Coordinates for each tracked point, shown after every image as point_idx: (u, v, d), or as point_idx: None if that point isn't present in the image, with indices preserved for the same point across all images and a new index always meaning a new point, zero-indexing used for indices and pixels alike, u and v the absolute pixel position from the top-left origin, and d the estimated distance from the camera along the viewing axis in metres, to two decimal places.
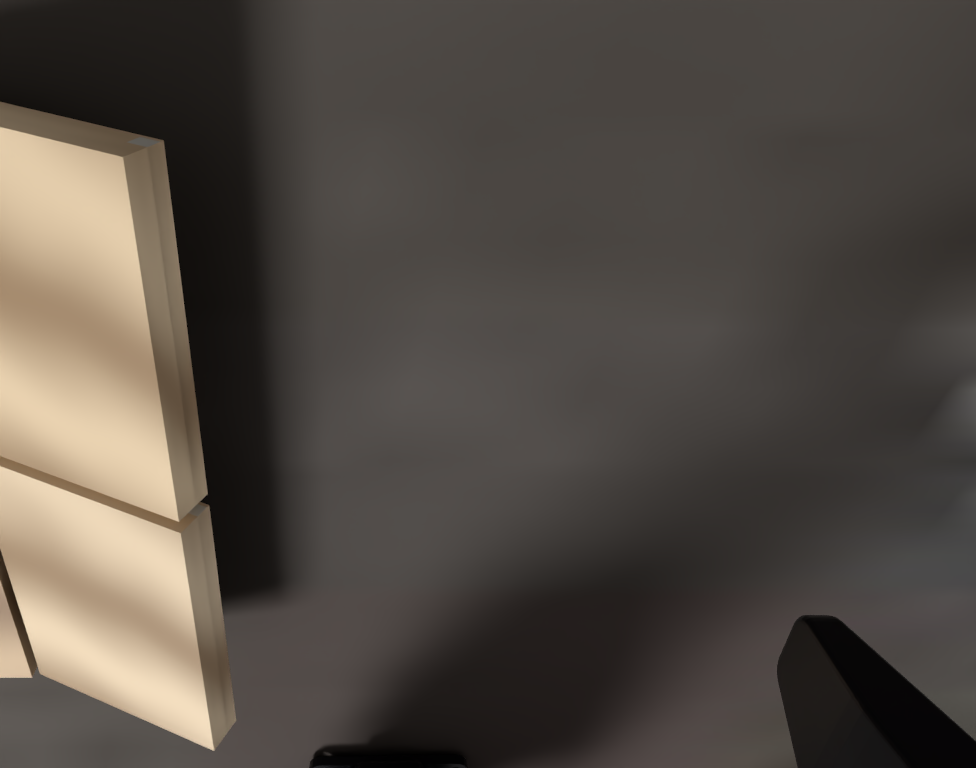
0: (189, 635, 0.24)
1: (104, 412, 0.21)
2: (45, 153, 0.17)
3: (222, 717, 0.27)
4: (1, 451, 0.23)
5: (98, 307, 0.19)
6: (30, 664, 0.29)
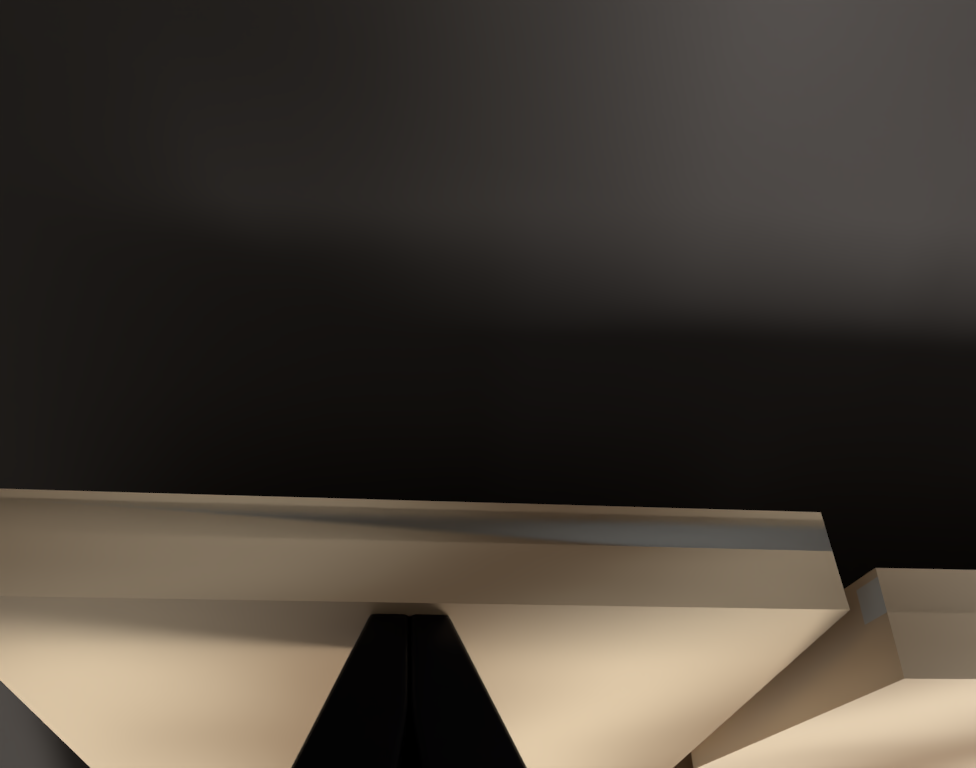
0: None
1: (562, 663, 0.10)
2: (13, 664, 0.10)
3: None
4: (681, 750, 0.14)
5: (306, 648, 0.10)
6: None
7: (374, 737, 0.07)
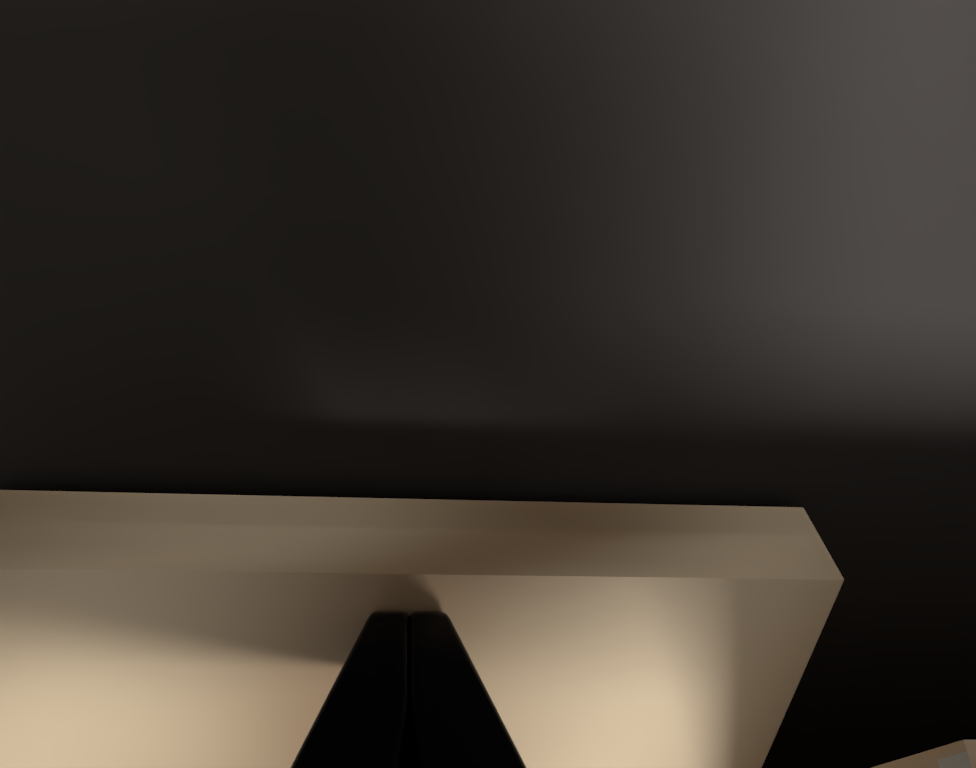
0: None
1: (568, 682, 0.10)
2: None
3: None
4: None
5: (306, 657, 0.10)
6: None
7: (374, 737, 0.07)
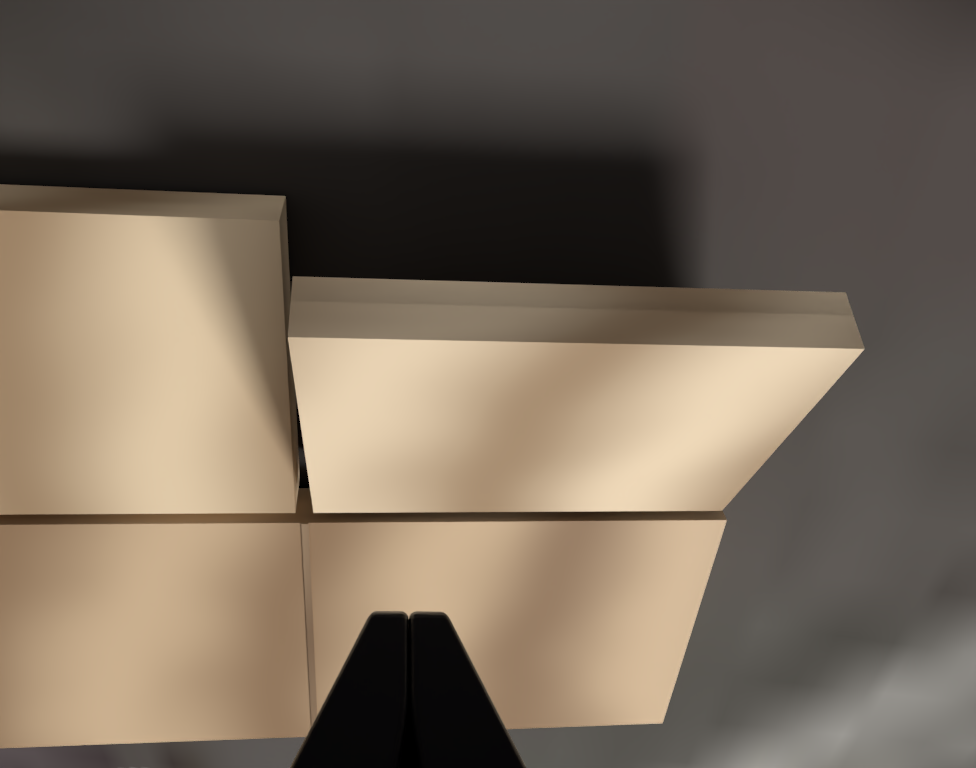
0: (545, 351, 0.14)
1: (127, 303, 0.16)
2: None
3: (800, 319, 0.15)
4: (283, 468, 0.18)
5: None
6: (704, 516, 0.21)
7: (373, 737, 0.07)
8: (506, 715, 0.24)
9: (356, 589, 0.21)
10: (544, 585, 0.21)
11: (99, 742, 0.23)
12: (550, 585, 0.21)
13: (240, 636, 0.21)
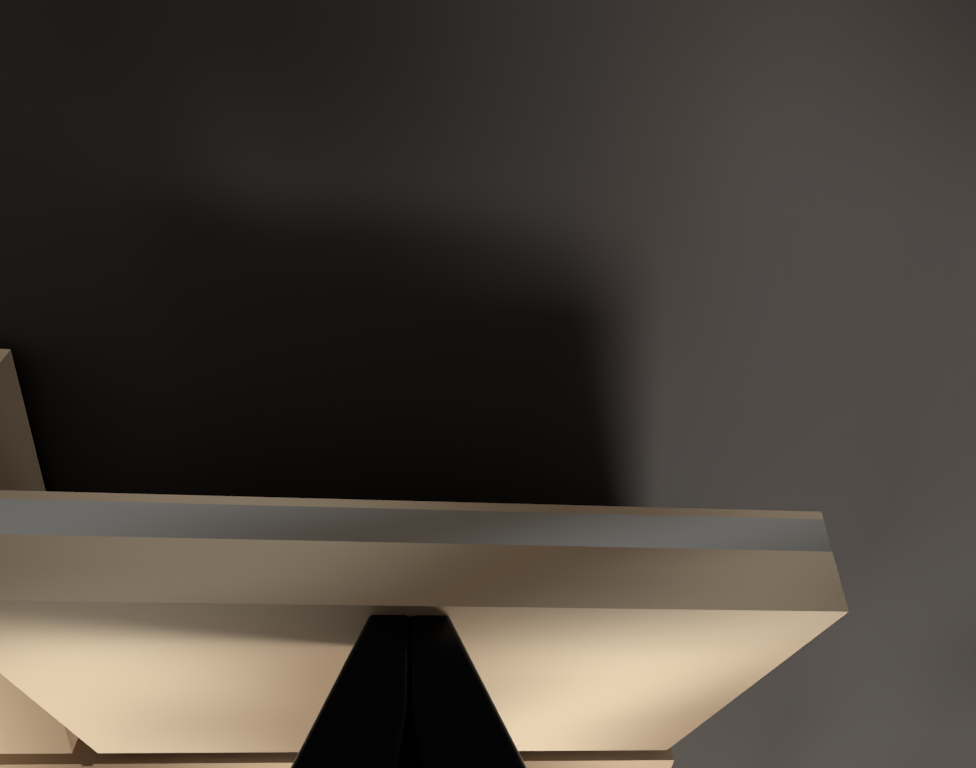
0: (342, 613, 0.09)
1: None
2: None
3: (750, 559, 0.10)
4: None
5: None
6: (643, 753, 0.15)
7: (374, 737, 0.07)
8: None
9: None
10: None
11: None
12: None
13: None
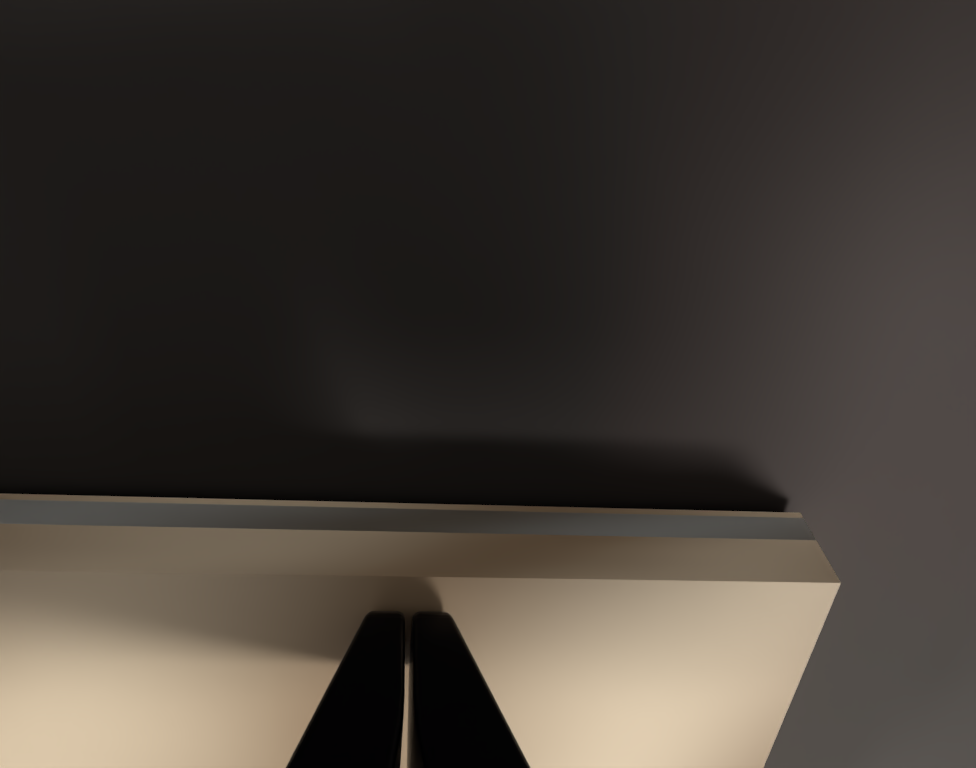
0: (347, 592, 0.09)
1: None
2: None
3: (738, 545, 0.10)
4: None
5: None
6: None
7: (369, 737, 0.07)
8: None
9: None
10: None
11: None
12: None
13: None
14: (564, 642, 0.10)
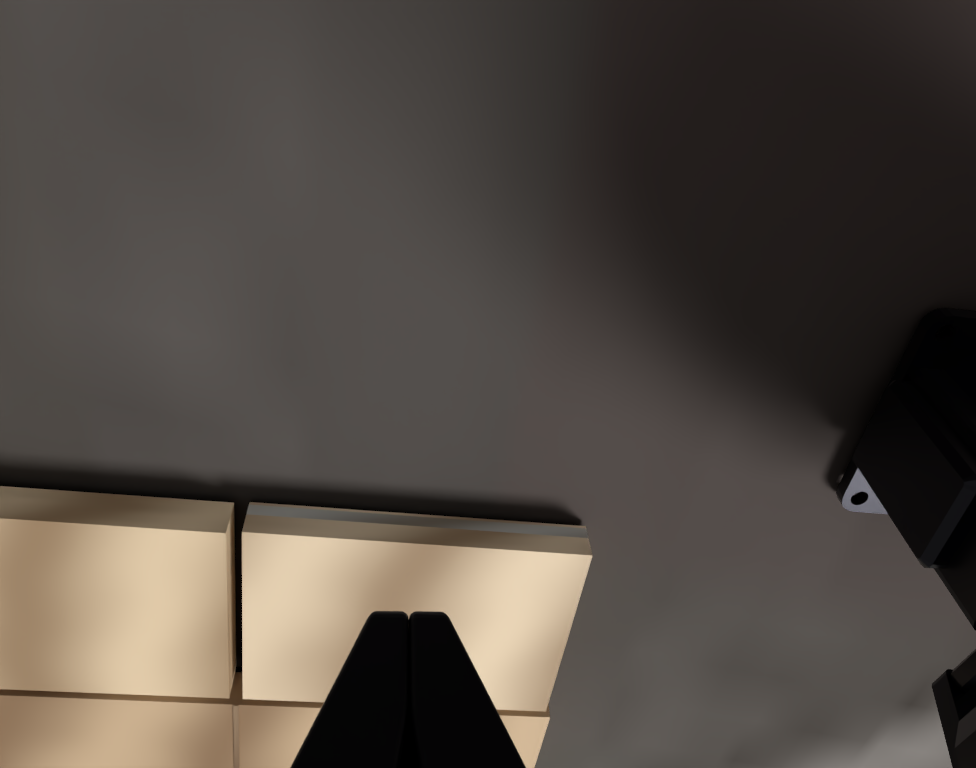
0: (397, 549, 0.23)
1: (118, 573, 0.23)
2: None
3: (555, 538, 0.24)
4: (221, 671, 0.26)
5: None
6: (533, 713, 0.28)
7: (373, 737, 0.07)
8: None
9: (272, 747, 0.28)
10: None
11: None
12: None
13: None
14: (481, 574, 0.24)
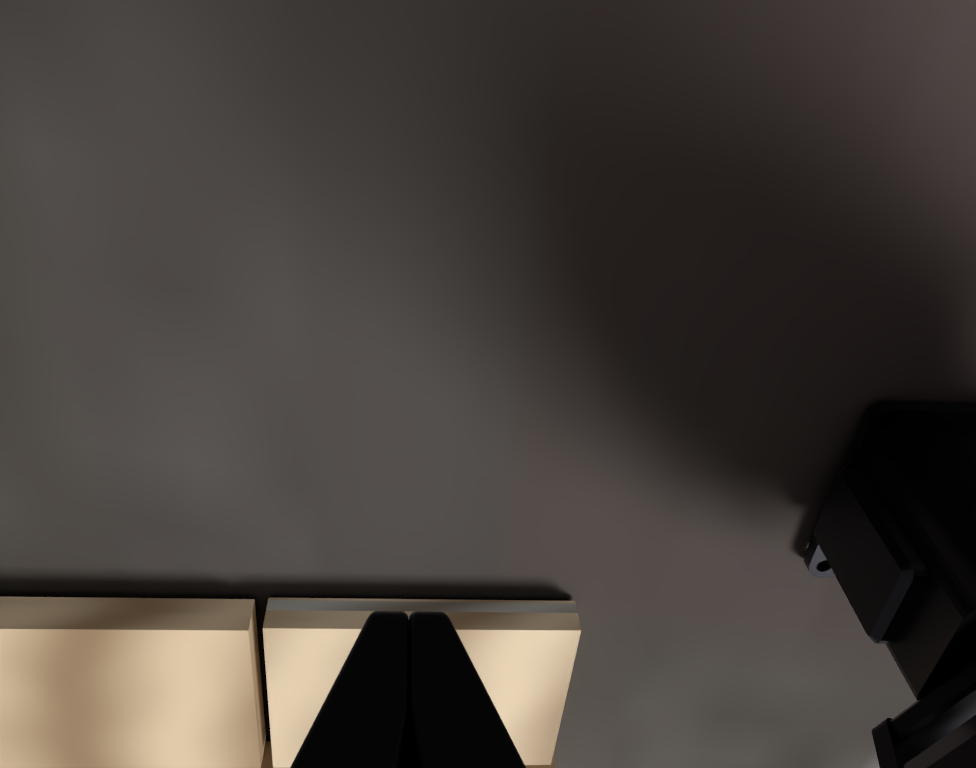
0: None
1: (154, 668, 0.26)
2: None
3: (546, 615, 0.27)
4: (252, 745, 0.28)
5: (46, 659, 0.25)
6: (540, 766, 0.30)
7: (373, 737, 0.07)
8: None
9: None
10: None
11: None
12: None
13: None
14: (481, 651, 0.27)
